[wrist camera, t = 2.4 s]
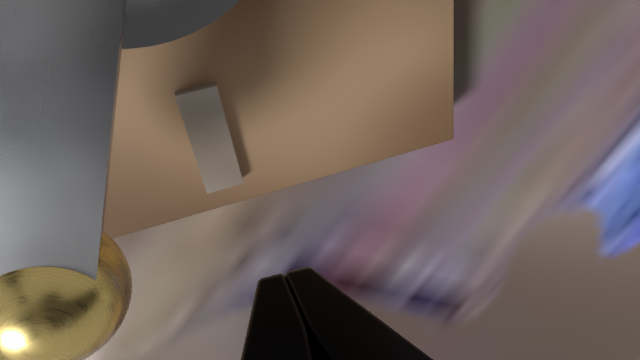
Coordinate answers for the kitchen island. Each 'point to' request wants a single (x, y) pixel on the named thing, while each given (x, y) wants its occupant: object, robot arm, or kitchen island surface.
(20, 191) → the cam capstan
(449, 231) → the kitchen island surface
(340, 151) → the stand
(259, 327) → the robot arm
